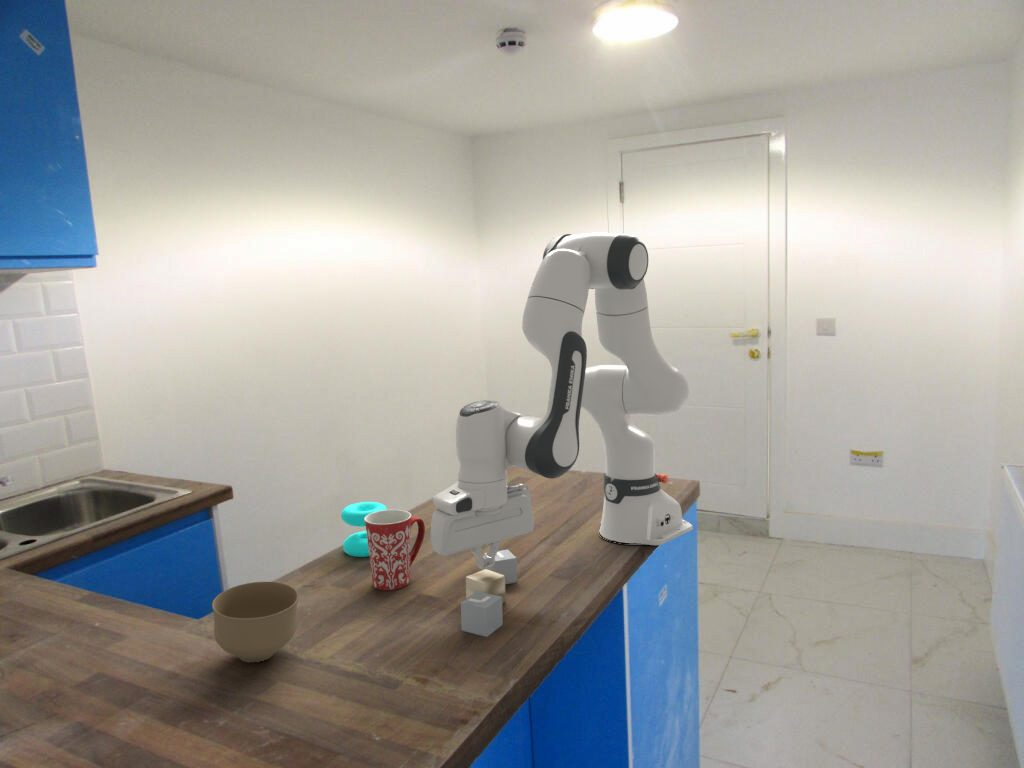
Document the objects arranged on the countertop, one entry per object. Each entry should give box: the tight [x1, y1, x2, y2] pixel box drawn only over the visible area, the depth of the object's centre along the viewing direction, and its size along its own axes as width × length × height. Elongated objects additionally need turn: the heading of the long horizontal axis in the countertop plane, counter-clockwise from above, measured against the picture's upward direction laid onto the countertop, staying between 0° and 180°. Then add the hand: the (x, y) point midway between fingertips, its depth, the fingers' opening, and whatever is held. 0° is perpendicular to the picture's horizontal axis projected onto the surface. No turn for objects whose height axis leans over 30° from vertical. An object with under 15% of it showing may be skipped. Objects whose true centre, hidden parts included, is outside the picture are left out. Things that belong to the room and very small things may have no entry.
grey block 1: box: [460, 591, 504, 638], centre depth 121 cm, size 5×5×5 cm
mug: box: [364, 509, 426, 591], centre depth 141 cm, size 13×9×14 cm
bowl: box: [211, 581, 300, 663], centre depth 112 cm, size 13×13×10 cm
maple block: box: [465, 568, 506, 604], centre depth 131 cm, size 5×5×5 cm
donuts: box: [340, 501, 388, 558], centre depth 159 cm, size 10×10×10 cm
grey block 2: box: [483, 549, 518, 585], centre depth 141 cm, size 5×5×5 cm
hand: (485, 566), depth 131 cm, fingers closed
